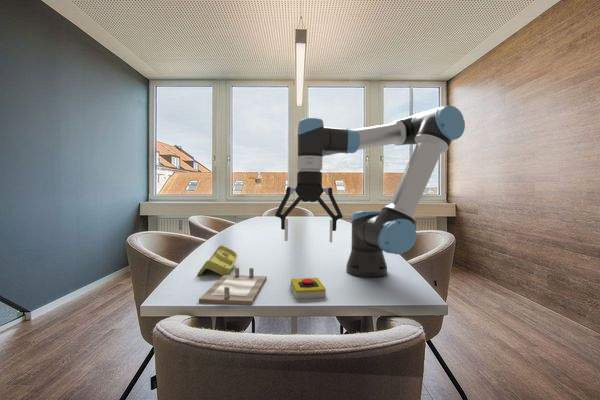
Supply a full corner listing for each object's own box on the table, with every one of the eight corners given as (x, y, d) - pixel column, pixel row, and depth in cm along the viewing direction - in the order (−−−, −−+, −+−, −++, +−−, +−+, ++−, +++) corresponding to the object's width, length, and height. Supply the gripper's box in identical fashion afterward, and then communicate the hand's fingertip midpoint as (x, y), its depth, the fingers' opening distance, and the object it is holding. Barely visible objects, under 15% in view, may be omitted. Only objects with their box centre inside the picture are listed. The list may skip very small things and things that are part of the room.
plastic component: (230, 270, 112) (204, 258, 112) (221, 288, 113) (195, 276, 112) (239, 253, 132) (217, 243, 131) (232, 268, 133) (210, 258, 132)
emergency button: (296, 288, 89) (288, 273, 104) (296, 303, 89) (288, 286, 104) (328, 286, 91) (316, 271, 105) (328, 301, 91) (316, 284, 106)
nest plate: (224, 277, 111) (224, 266, 111) (266, 278, 110) (266, 267, 110) (198, 302, 88) (198, 288, 88) (252, 304, 87) (252, 290, 87)
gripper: (266, 169, 92) (265, 241, 94) (352, 171, 91) (350, 244, 92) (270, 170, 100) (269, 237, 101) (350, 172, 98) (348, 239, 99)
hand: (308, 241), depth 97 cm, fingers open, 13 cm apart
